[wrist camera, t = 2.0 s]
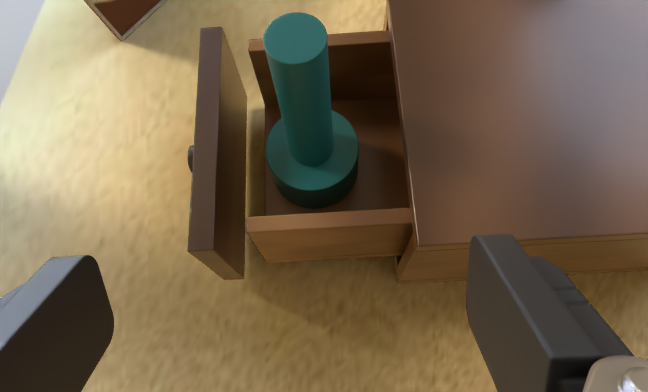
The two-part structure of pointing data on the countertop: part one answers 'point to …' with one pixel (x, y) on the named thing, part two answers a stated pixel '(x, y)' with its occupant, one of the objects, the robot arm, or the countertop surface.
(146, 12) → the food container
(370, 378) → the countertop surface
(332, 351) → the countertop surface
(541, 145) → the cabinet
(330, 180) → the teal flanged rod post
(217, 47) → the drawer
